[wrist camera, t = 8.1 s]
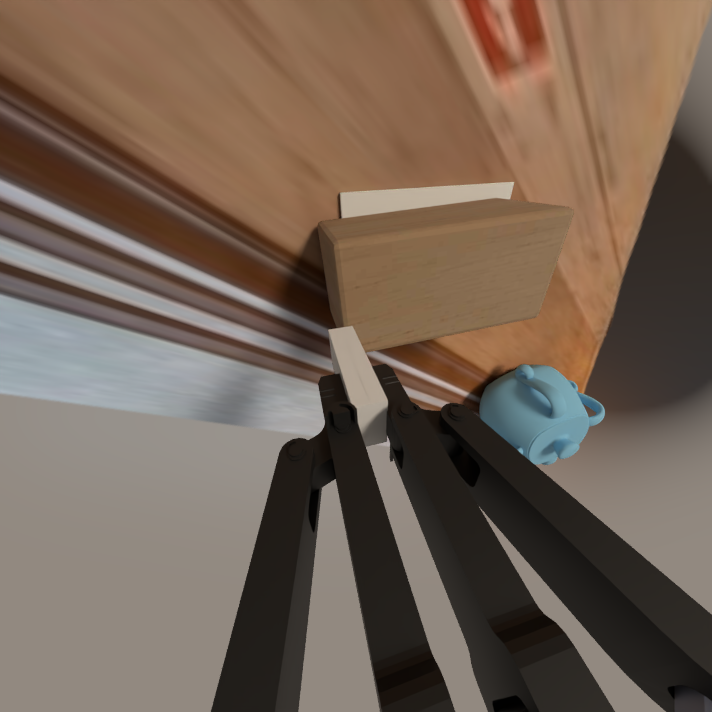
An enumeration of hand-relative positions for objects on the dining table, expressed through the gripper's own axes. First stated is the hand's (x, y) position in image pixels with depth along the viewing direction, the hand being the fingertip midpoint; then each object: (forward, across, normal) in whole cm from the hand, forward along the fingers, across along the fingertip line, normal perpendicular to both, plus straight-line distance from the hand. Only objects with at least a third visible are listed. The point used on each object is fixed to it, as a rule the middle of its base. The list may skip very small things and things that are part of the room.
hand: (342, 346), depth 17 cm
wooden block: (+11, +1, 0) cm, 11 cm away
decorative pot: (+16, +32, -27) cm, 45 cm away
